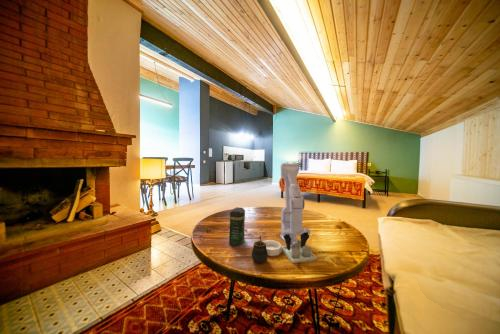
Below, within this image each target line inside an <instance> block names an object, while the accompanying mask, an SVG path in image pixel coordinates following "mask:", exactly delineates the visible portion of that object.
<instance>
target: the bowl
mask: <svg viewBox="0 0 500 334" xmlns="http://www.w3.org/2000/svg"><path fill="white" fill-rule="evenodd" d="M263 242H265V243H266V249H267V253H268V256H270V257H273V256H279V255H280V254H281V253H283V251H282V246H283V245H282V244H281V243H280V241H276V240H273V239H267V240H263Z"/></svg>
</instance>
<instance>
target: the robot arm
mask: <svg viewBox="0 0 500 334" xmlns="http://www.w3.org/2000/svg"><path fill="white" fill-rule="evenodd" d="M299 171H300V166H299V164H298V162H295V163H290V162H281V164H280V177H281V178H282V179H283V181H284V195H285V207H283V208H282V209H281V211H280V220H281V221H280V222H281V225H280V227H281V228H280V234H279V237H280V238H281V239H282V240H283V241H284V242H285V246H287V249H288V250H290V245H291V243H292V242H293V241H296V242H299V241H300V244H301V247H302V248H303V246H306V244H307V241H308V240H309V238H310V234H311V229H309V228H303V210H304V208H305V198H304V197H303V195H302V193H301V188H300V186H299V185H298V181H297V176H298V174H299ZM297 236H300V239H298V238H297Z"/></svg>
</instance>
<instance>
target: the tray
mask: <svg viewBox="0 0 500 334" xmlns="http://www.w3.org/2000/svg"><path fill="white" fill-rule="evenodd" d="M299 249H300V257H299V258H298V259H293V258H292V244H290V250H288V249H287V246H286V245H282V253H284V255H285V256H286V257H287V258H288V260H289V261H290V262H291V263H292V264H298V263H299V264H300V263H306V262H313V261H316V262H317V260H318V257H317V255H315V254H314V253H313V252H312V251H310V257H306V258H305V257H303V256H302V251H303V248H302V247H301V243H299Z"/></svg>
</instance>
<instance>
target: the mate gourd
mask: <svg viewBox="0 0 500 334" xmlns="http://www.w3.org/2000/svg"><path fill="white" fill-rule="evenodd" d="M263 241H264V240H263ZM263 241H262V236H261V235H259V240H257V241H255V242H253V248H252V251H251V258H252V260H253V261H254V262H255V263H256V264H263V263H265V262H266V261H267V260H268V256H269V255H268V253H267V249H266V243H265V242H263Z"/></svg>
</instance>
